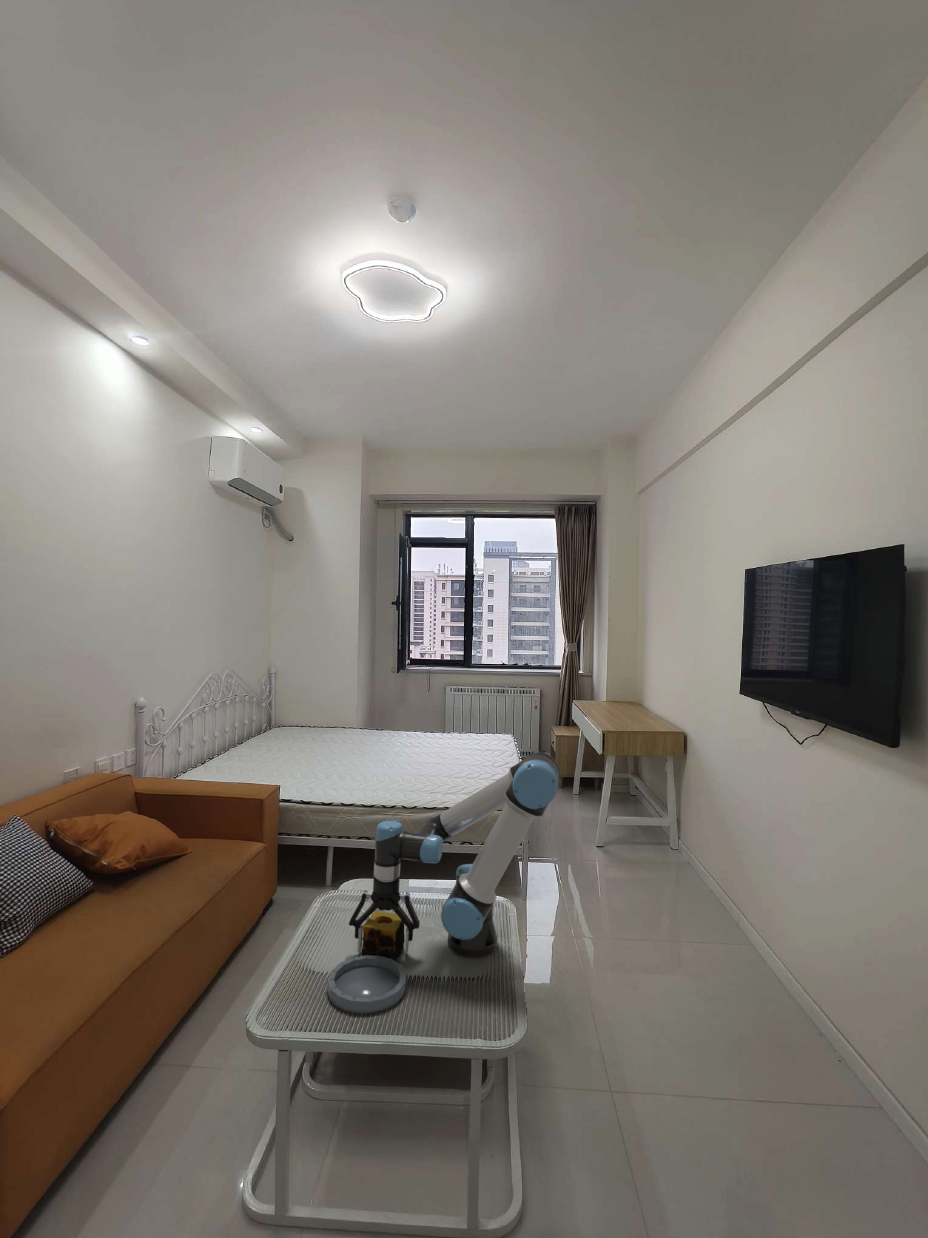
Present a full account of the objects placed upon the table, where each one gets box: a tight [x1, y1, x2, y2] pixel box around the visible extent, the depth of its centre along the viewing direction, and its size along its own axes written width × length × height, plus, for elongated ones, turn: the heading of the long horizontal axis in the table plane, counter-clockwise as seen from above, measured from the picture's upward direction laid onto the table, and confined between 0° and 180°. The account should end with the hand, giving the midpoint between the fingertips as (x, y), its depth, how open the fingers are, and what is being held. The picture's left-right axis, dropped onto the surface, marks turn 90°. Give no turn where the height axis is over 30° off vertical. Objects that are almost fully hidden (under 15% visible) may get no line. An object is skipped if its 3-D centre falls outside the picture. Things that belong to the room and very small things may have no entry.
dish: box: [326, 955, 407, 1015], centre depth 154 cm, size 20×20×3 cm
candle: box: [360, 911, 406, 963], centre depth 170 cm, size 10×10×10 cm
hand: (383, 950), depth 170 cm, fingers open, 13 cm apart
